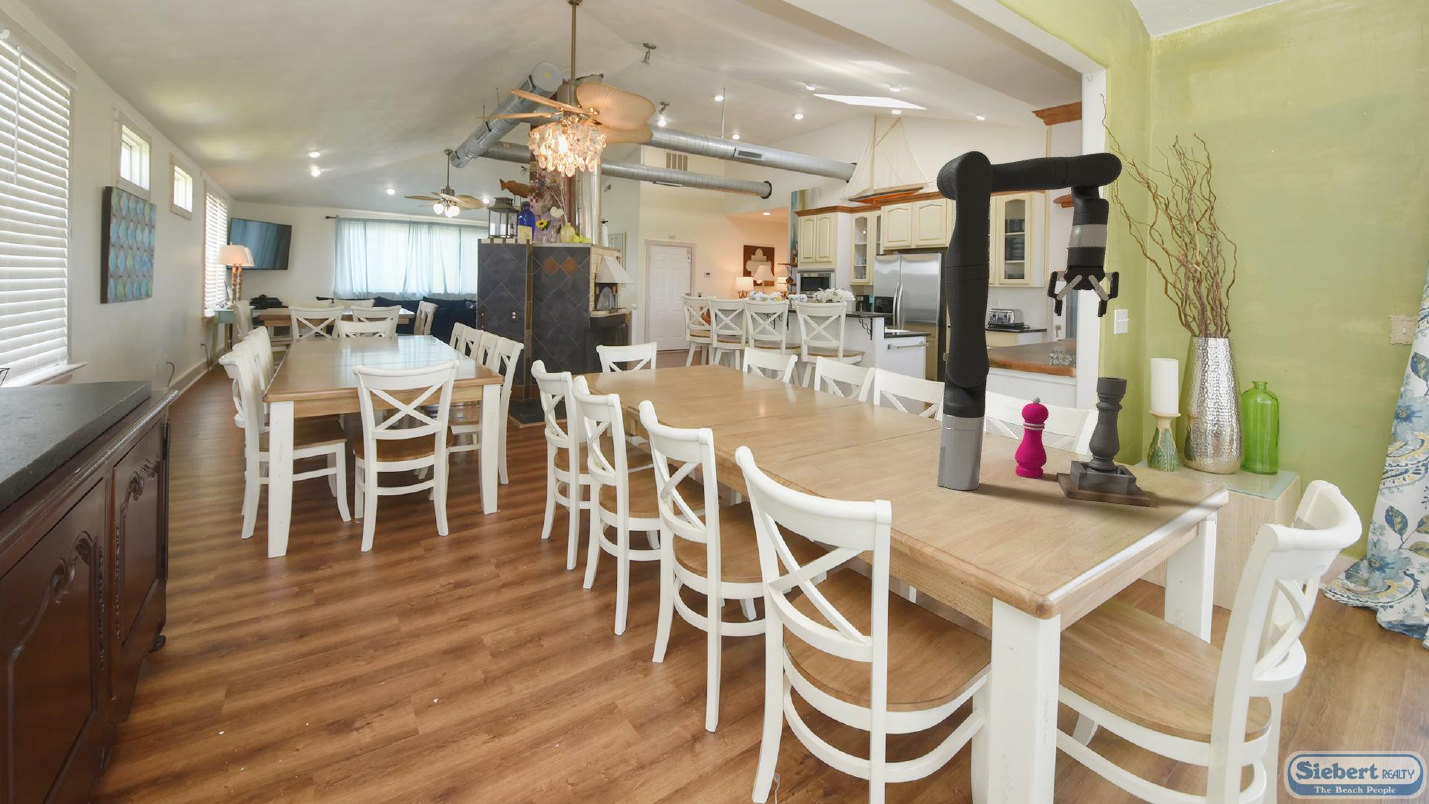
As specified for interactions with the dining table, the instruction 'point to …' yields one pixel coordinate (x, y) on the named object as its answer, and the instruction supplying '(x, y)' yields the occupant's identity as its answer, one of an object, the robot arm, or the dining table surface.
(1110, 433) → the candle holder
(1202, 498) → the dining table surface
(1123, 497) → the socket board
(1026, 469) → the pepper mill
